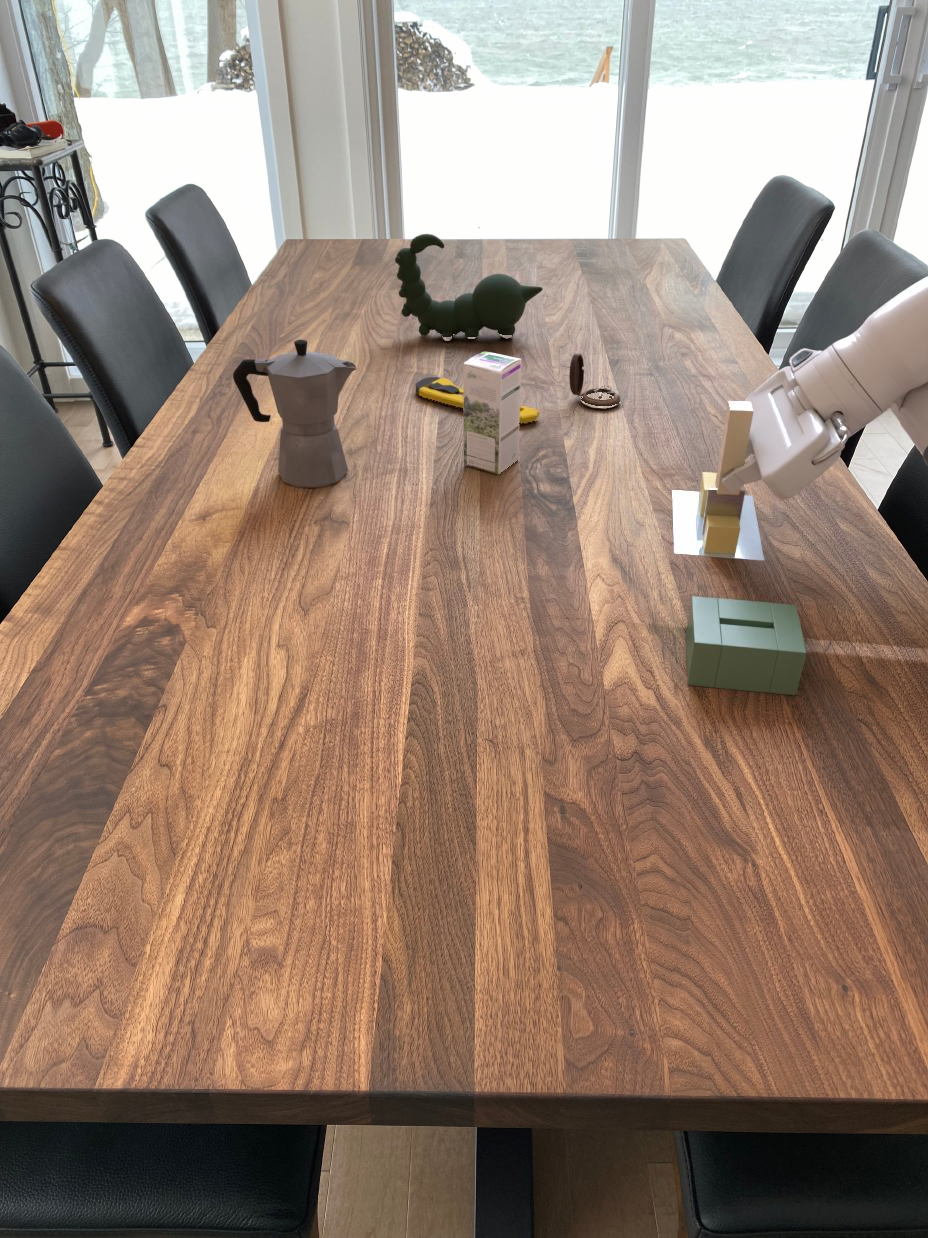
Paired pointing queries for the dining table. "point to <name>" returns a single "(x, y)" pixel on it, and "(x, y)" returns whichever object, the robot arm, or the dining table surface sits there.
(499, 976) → the dining table surface
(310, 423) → the coffeepot
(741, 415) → the putty knife
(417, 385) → the utility knife
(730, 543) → the butter pat
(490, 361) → the syrup box
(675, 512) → the butter dish
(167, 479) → the dining table surface
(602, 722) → the dining table surface
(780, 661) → the knife block
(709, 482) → the butter stick
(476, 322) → the toy figurine
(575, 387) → the compass
